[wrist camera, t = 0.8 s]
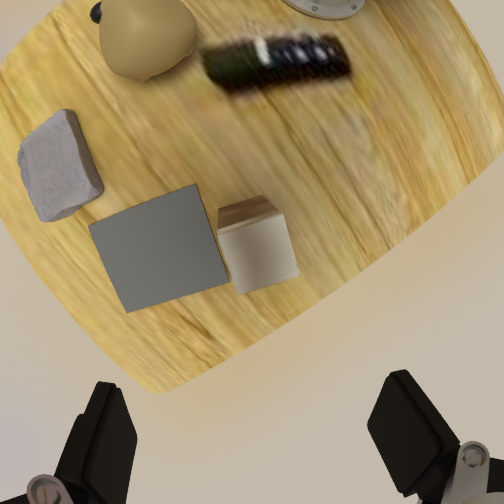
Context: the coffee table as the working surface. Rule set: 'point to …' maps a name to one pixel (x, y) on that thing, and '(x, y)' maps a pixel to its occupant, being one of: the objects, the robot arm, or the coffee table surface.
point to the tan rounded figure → (144, 35)
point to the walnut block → (256, 244)
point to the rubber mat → (160, 250)
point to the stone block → (58, 168)
